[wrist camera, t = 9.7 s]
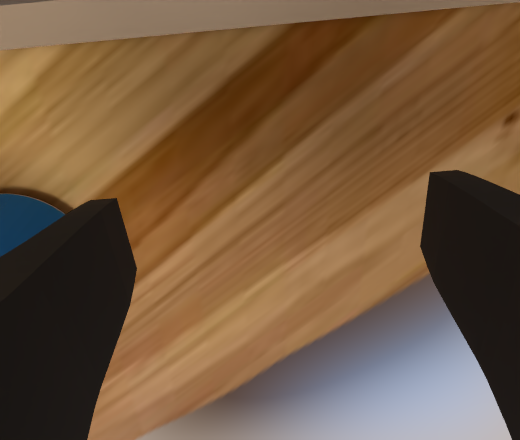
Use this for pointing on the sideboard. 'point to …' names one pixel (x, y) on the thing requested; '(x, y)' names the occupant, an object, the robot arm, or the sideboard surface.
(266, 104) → the sideboard surface
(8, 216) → the beverage can
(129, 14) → the bay
